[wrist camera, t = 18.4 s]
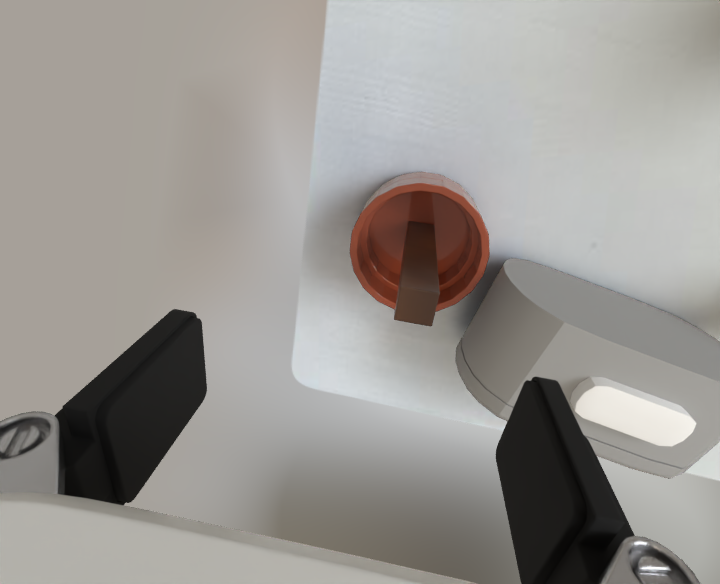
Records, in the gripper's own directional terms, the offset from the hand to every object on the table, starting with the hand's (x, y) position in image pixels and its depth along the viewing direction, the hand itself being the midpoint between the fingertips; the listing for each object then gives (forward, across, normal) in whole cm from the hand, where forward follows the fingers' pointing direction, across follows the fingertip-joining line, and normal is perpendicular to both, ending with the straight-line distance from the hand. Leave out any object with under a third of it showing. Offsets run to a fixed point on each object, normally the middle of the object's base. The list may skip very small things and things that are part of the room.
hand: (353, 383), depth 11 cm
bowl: (+27, -3, +4) cm, 27 cm away
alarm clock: (+27, -19, +11) cm, 34 cm away
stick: (+26, -3, +4) cm, 27 cm away
